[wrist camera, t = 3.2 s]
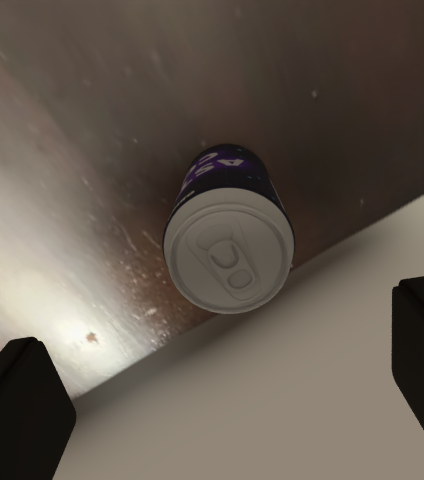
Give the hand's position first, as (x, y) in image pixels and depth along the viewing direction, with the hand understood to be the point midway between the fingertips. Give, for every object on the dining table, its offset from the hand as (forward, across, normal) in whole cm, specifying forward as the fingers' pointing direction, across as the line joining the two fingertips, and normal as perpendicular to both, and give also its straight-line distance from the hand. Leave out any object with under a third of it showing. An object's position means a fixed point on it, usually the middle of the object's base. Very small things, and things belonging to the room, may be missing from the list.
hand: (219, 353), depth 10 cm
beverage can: (+17, -1, 0) cm, 17 cm away
